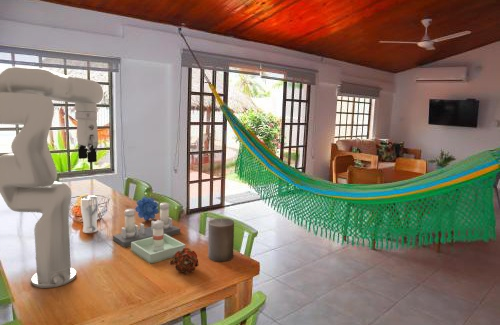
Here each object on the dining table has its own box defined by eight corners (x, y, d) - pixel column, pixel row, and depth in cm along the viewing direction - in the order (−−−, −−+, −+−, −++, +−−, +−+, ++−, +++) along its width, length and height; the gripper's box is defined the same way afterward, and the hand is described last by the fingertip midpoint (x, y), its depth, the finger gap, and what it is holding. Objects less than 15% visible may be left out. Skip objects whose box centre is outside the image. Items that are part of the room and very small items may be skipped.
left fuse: (136, 236, 149) (136, 210, 147) (127, 238, 146) (127, 212, 145) (132, 233, 152) (132, 208, 150) (123, 235, 149) (122, 209, 147)
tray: (185, 253, 140) (185, 244, 139) (150, 263, 129) (150, 254, 129) (164, 241, 150) (164, 233, 149) (131, 250, 140) (130, 242, 139)
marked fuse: (165, 250, 140) (165, 222, 138) (156, 253, 137) (156, 225, 135) (160, 247, 142) (160, 220, 141) (150, 249, 140) (150, 222, 138)
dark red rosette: (191, 283, 120) (176, 274, 130) (209, 263, 124) (193, 256, 134) (176, 266, 117) (161, 258, 127) (194, 246, 121) (179, 240, 130)
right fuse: (170, 228, 160) (170, 204, 158) (162, 230, 157) (162, 205, 156) (165, 225, 163) (166, 202, 161) (157, 227, 160) (158, 203, 158)
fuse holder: (180, 233, 161) (180, 220, 160) (124, 247, 142) (123, 232, 141) (168, 226, 168) (168, 214, 167) (113, 240, 149) (112, 226, 148)
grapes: (139, 225, 168) (139, 200, 166) (133, 221, 173) (133, 196, 171) (162, 220, 176) (162, 196, 174) (156, 217, 181) (156, 193, 179)
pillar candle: (238, 255, 140) (239, 217, 137) (223, 264, 131) (224, 224, 129) (217, 249, 145) (218, 213, 142) (202, 257, 136) (202, 219, 134)
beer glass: (92, 234, 155) (91, 200, 152) (78, 232, 156) (76, 198, 153) (102, 229, 161) (101, 196, 159) (88, 227, 163) (87, 194, 160)
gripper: (105, 117, 135) (106, 162, 138) (87, 114, 148) (89, 156, 151) (84, 117, 130) (85, 164, 133) (68, 114, 143) (69, 157, 145)
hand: (87, 160), depth 142 cm, fingers open, 9 cm apart
